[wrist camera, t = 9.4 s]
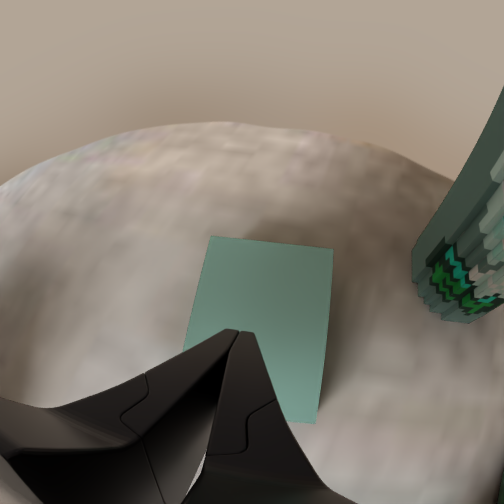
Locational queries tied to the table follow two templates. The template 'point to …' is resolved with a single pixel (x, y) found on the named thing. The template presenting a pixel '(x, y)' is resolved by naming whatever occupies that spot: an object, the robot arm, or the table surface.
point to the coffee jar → (501, 492)
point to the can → (467, 235)
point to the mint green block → (270, 311)
